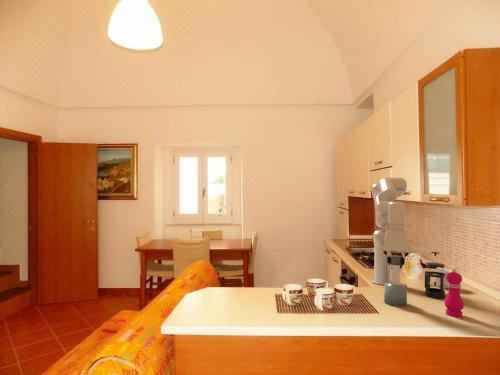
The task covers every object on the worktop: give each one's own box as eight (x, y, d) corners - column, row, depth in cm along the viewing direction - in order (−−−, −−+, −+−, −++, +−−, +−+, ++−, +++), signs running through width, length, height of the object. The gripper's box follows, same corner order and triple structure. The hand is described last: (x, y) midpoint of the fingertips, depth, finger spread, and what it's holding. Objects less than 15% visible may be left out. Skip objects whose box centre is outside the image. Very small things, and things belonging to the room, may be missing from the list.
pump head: (401, 284, 162) (401, 257, 162) (389, 283, 164) (390, 256, 164) (400, 280, 169) (401, 255, 170) (390, 279, 171) (390, 254, 172)
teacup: (454, 285, 204) (454, 268, 204) (455, 291, 191) (455, 273, 191) (431, 282, 209) (431, 266, 210) (431, 288, 196) (431, 270, 196)
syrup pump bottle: (407, 307, 158) (407, 267, 159) (383, 304, 162) (384, 265, 163) (406, 301, 168) (406, 263, 168) (384, 299, 171) (384, 261, 172)
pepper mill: (454, 311, 154) (454, 266, 155) (467, 317, 147) (468, 270, 148) (440, 312, 153) (440, 267, 153) (453, 318, 146) (453, 270, 146)
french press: (450, 298, 175) (451, 253, 176) (435, 299, 173) (436, 253, 174) (433, 292, 187) (433, 250, 187) (418, 293, 184) (418, 250, 185)
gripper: (377, 227, 166) (376, 265, 165) (416, 229, 159) (415, 268, 159) (377, 226, 173) (377, 262, 172) (415, 228, 166) (414, 265, 166)
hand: (395, 265), depth 166 cm, fingers closed on pump head, 5 cm apart
